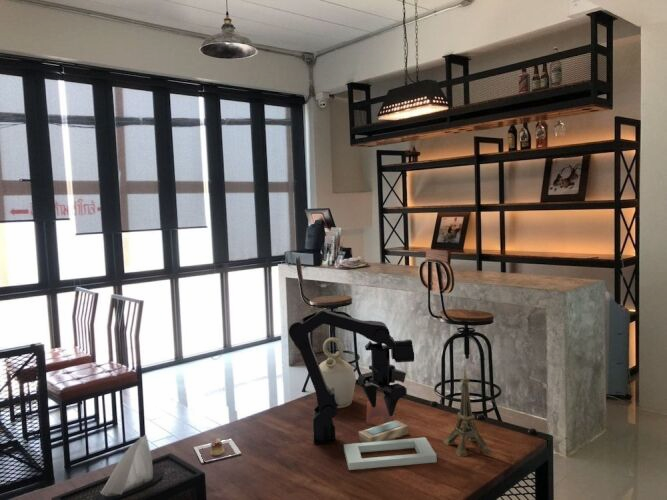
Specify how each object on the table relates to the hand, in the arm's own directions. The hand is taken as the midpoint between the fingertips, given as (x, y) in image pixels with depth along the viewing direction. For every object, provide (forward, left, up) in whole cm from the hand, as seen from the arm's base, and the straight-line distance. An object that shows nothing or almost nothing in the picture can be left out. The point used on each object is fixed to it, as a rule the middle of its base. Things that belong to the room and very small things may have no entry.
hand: (382, 411), depth 170 cm
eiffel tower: (+23, -12, -9) cm, 27 cm away
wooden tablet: (+3, +21, -9) cm, 23 cm away
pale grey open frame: (-1, -14, -8) cm, 16 cm away
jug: (-12, +32, -8) cm, 36 cm away
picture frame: (0, 0, -9) cm, 9 cm away
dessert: (-52, -1, -9) cm, 52 cm away
